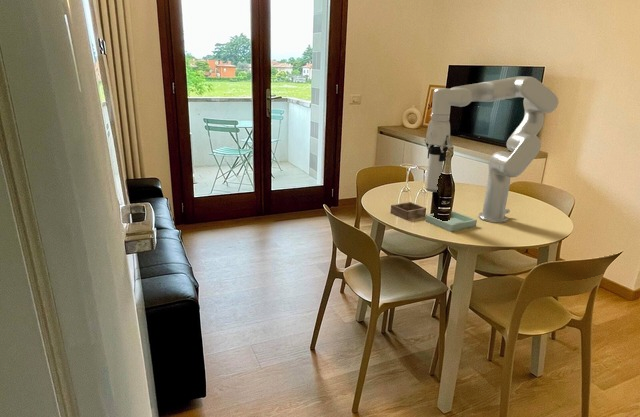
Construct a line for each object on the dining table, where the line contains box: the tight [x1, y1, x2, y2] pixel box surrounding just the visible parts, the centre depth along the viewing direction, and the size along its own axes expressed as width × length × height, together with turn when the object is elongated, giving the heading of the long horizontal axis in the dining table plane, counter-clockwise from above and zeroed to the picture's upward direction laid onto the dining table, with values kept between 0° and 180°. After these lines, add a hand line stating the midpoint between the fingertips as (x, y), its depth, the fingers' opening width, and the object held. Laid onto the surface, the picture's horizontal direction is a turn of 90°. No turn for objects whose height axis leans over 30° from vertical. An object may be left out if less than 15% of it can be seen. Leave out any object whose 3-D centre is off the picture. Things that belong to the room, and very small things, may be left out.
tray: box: [425, 210, 478, 233], centre depth 189 cm, size 16×15×3 cm
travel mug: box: [425, 145, 444, 193], centre depth 187 cm, size 6×7×20 cm
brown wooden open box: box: [390, 201, 427, 221], centre depth 198 cm, size 12×11×4 cm
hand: (436, 159), depth 186 cm, fingers closed on travel mug, 6 cm apart
